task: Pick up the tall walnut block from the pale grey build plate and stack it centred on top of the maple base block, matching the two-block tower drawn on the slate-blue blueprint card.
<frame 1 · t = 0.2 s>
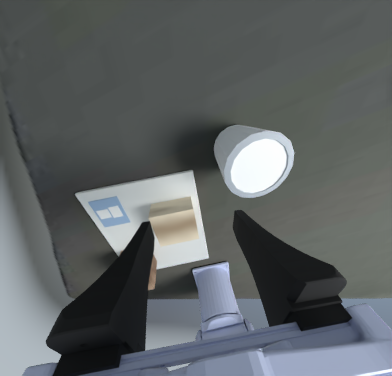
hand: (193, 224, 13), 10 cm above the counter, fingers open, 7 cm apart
white tapered cup: (233, 146, 21), on the counter
build plate: (156, 230, 26), on the counter
maple base block: (175, 215, 24), resting on build plate
walnut block: (139, 256, 29), resting on build plate
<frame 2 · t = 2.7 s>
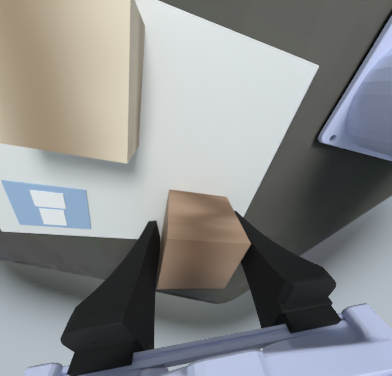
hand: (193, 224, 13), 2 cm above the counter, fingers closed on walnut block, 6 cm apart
build plate: (139, 158, 11), on the counter
maple base block: (82, 80, 8), resting on build plate
walnut block: (192, 215, 14), resting on build plate, touching gripper
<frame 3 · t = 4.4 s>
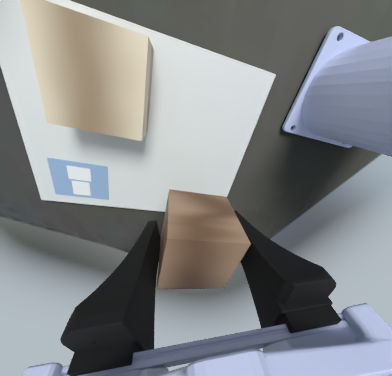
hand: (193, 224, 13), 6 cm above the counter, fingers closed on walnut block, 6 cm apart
build plate: (147, 142, 15), on the counter
maple base block: (110, 85, 12), resting on build plate
walnut block: (192, 215, 14), point 5 cm above the counter, touching gripper
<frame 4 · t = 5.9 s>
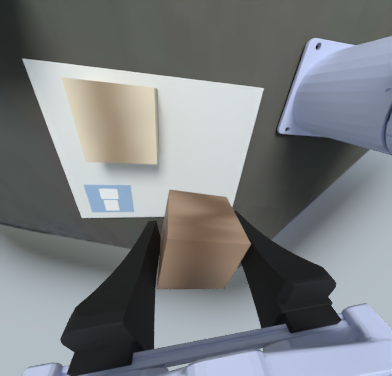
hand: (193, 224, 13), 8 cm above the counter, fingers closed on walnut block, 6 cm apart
build plate: (160, 160, 18), on the counter
maple base block: (126, 122, 15), resting on build plate
walnut block: (192, 215, 14), point 6 cm above the counter, touching gripper
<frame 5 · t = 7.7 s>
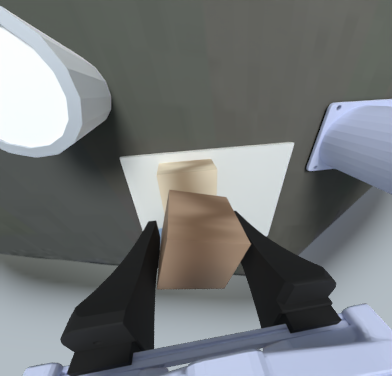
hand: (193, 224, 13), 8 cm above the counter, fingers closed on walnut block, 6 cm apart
white tapered cup: (78, 93, 14), on the counter
build plate: (210, 204, 22), on the counter
maple base block: (187, 183, 19), resting on build plate
walnut block: (192, 216, 14), point 6 cm above the counter, touching gripper
when the fingers open (6 cm above the counter, at t = 9.4 s): walnut block drops 2 cm, resting on maple base block.
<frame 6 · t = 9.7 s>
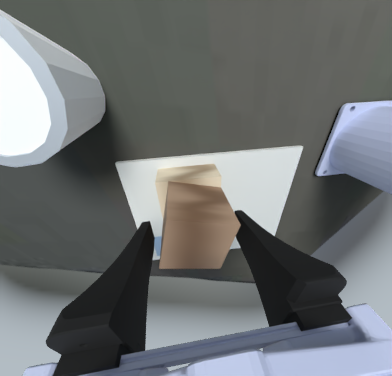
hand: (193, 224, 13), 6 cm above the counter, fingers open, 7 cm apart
white tapered cup: (68, 93, 13), on the counter
build plate: (212, 210, 21), on the counter
maple base block: (188, 189, 18), resting on build plate, touching walnut block
walnut block: (190, 205, 15), point 3 cm above the counter, touching maple base block
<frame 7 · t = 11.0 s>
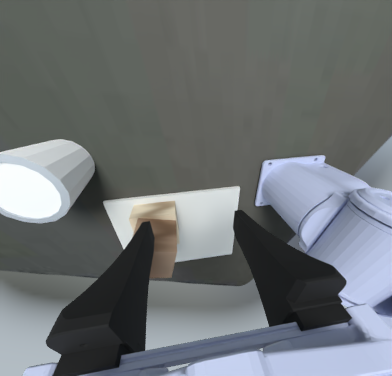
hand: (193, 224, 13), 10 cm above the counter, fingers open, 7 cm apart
white tapered cup: (70, 162, 19), on the counter
build plate: (179, 230, 27), on the counter
maple base block: (158, 217, 24), resting on build plate, touching walnut block
walnut block: (156, 232, 22), point 3 cm above the counter, touching maple base block
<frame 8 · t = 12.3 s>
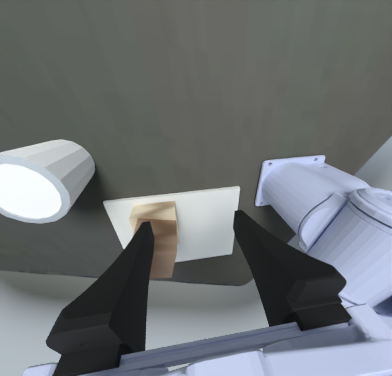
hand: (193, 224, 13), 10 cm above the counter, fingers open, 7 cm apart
white tapered cup: (70, 162, 19), on the counter
build plate: (179, 230, 27), on the counter
maple base block: (158, 218, 24), resting on build plate, touching walnut block
walnut block: (156, 232, 22), point 3 cm above the counter, touching maple base block
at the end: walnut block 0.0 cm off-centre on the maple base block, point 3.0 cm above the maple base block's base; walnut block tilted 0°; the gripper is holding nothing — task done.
